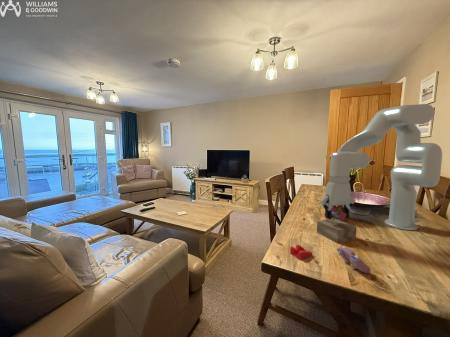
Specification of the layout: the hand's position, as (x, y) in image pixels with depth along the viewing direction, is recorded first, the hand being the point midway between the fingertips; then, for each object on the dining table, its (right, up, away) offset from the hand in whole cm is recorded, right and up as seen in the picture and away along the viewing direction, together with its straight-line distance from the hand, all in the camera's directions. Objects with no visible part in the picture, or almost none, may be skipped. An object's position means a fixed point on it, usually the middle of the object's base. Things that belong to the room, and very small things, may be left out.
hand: (336, 217), depth 86 cm
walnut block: (0, -9, +1) cm, 9 cm away
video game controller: (-7, -11, -21) cm, 25 cm away
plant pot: (+13, -6, +23) cm, 27 cm away
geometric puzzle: (0, -1, 0) cm, 1 cm away
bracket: (-22, -11, -15) cm, 29 cm away
